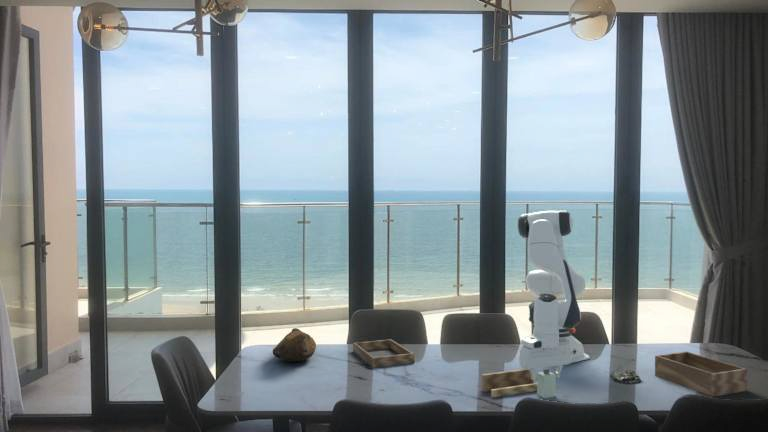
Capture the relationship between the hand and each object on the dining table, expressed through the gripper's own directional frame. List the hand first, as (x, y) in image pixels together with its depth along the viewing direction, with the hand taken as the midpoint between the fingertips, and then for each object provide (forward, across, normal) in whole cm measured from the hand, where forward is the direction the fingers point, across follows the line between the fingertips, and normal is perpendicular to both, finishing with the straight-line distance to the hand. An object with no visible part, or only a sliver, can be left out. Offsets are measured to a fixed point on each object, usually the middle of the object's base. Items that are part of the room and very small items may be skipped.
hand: (545, 378), depth 205 cm
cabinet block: (+6, 0, 0) cm, 6 cm away
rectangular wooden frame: (+6, +37, -68) cm, 78 cm away
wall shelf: (+6, +8, -9) cm, 13 cm away
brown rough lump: (+7, +74, -79) cm, 108 cm away
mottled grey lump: (+6, -40, -4) cm, 41 cm away
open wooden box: (+6, -64, +10) cm, 64 cm away
